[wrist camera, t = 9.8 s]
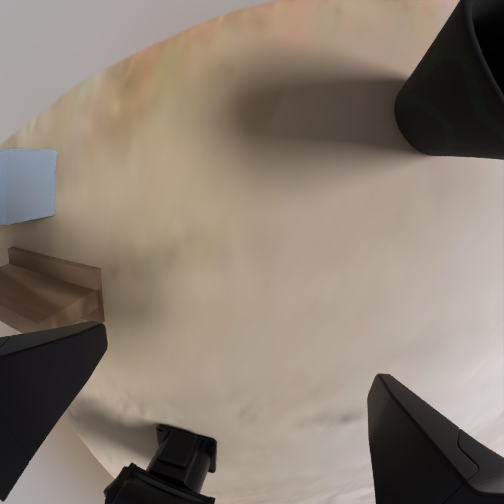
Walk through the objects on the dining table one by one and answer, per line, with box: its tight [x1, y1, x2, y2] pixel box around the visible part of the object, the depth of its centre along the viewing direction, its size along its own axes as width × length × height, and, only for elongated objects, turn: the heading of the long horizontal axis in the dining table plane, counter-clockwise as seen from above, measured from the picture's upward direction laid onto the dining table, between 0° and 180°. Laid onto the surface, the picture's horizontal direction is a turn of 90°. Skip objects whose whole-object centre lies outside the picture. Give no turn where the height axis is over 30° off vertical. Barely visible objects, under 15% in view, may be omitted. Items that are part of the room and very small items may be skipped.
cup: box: [395, 0, 504, 160], centre depth 10 cm, size 8×8×12 cm
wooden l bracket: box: [0, 247, 104, 334], centre depth 20 cm, size 5×14×8 cm, turn 84°
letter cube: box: [0, 148, 57, 225], centre depth 19 cm, size 6×6×6 cm
